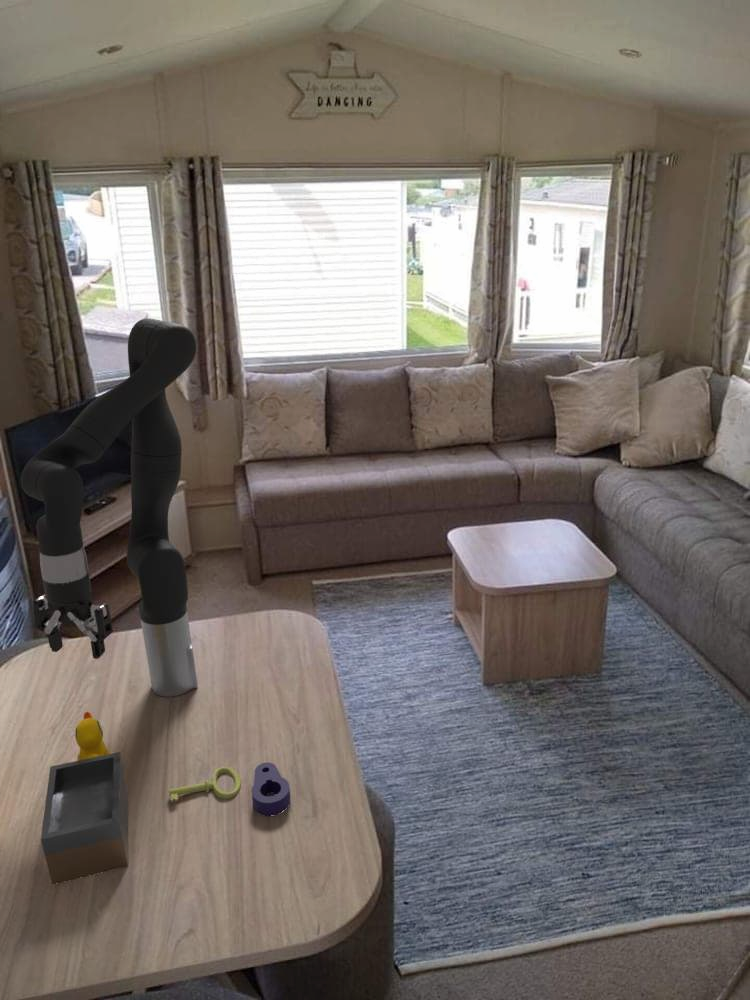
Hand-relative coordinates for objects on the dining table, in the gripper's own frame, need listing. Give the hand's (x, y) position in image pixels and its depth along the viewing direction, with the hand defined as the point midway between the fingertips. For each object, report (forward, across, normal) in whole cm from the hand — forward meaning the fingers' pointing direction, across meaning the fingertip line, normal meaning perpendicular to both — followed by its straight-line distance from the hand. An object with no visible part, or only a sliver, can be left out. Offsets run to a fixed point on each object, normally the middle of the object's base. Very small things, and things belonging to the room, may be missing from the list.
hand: (77, 653), depth 138 cm
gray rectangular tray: (+20, -14, +20) cm, 31 cm away
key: (+20, -27, +6) cm, 34 cm away
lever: (+20, -38, +3) cm, 43 cm away
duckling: (+20, -5, +6) cm, 22 cm away
